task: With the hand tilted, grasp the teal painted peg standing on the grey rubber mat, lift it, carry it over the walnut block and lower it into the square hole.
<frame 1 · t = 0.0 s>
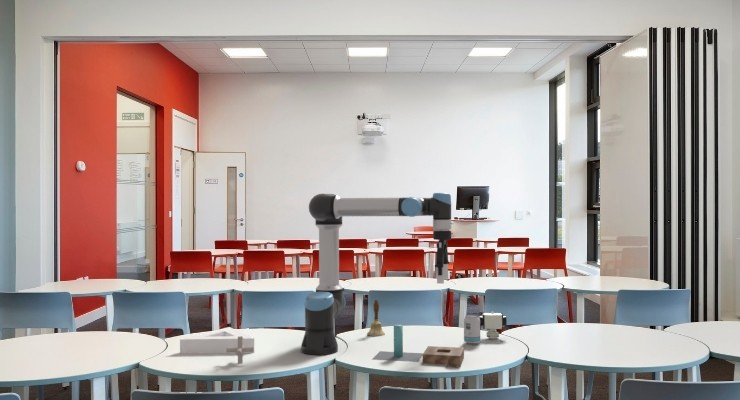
hand: (442, 281, 262), 28 cm above the table, fingers open, 13 cm apart
peg: (398, 356, 248), point 1 cm above the table, touching mat
pipe connector: (240, 363, 241), on the table
hole block: (443, 361, 241), on the table
hand bell: (376, 334, 294), on the table
pneumatic valve: (492, 338, 283), on the table
mat: (398, 357, 248), on the table
triangle block: (223, 347, 271), on the table
beverage can: (472, 344, 273), on the table
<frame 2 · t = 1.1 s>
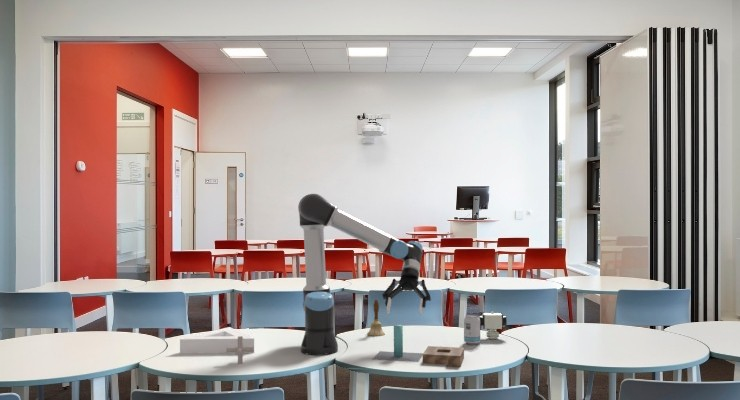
hand: (403, 312, 259), 16 cm above the table, fingers open, 13 cm apart
nothing on the table moved.
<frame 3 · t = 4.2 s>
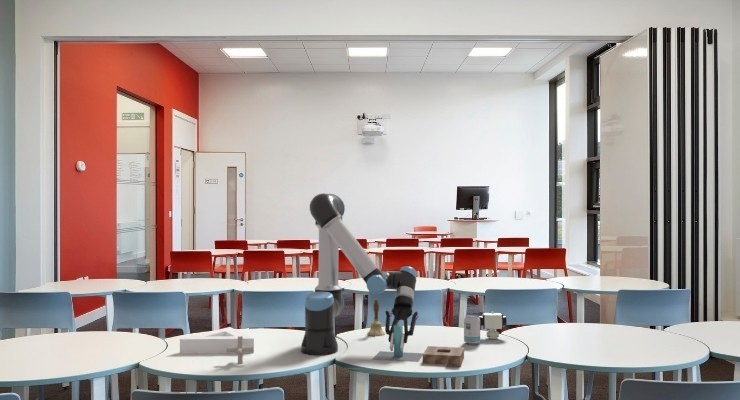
hand: (396, 349, 244), 4 cm above the table, fingers closed on peg, 3 cm apart
peg: (398, 356, 248), point 1 cm above the table, touching gripper, mat
everything else where it was.
when the fingers open (6 cm above the table, at t = 8.9 s): peg drops 2 cm, resting in hole block.
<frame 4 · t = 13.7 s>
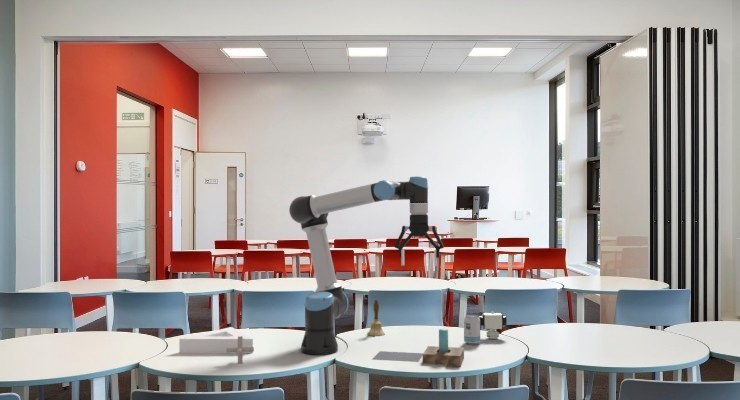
hand: (419, 265, 261), 35 cm above the table, fingers open, 13 cm apart
peg: (443, 361, 241), resting in hole block
everything else where it was.
at the end: peg 0.0 cm off-centre on the hole block, point 0.0 cm above the hole block's base; peg tilted 0°; the gripper is holding nothing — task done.
